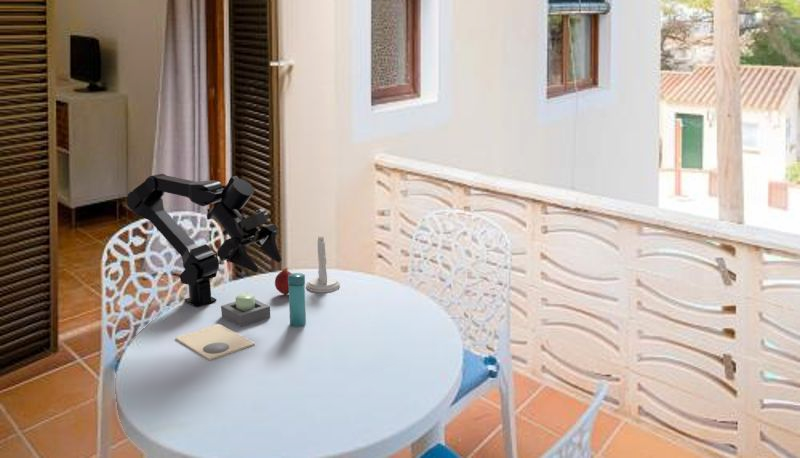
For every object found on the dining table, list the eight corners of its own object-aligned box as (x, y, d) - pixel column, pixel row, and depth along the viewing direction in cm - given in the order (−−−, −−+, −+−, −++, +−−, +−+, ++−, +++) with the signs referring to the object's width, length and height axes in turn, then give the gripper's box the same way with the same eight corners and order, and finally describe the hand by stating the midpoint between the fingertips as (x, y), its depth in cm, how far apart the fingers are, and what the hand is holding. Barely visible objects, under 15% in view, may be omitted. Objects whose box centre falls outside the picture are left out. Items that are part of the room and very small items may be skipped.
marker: (286, 323, 180) (284, 275, 177) (299, 319, 183) (297, 271, 180) (296, 328, 177) (294, 279, 174) (309, 323, 180) (308, 275, 177)
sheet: (175, 339, 171) (175, 337, 171) (219, 325, 179) (219, 323, 179) (209, 360, 160) (209, 358, 160) (254, 344, 168) (254, 343, 168)
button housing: (221, 316, 184) (221, 305, 184) (251, 307, 190) (250, 297, 190) (240, 326, 178) (240, 315, 177) (270, 317, 184) (270, 306, 184)
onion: (291, 299, 197) (290, 272, 195) (272, 297, 198) (271, 270, 196) (298, 292, 202) (297, 265, 200) (279, 290, 203) (278, 264, 201)
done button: (232, 309, 184) (231, 297, 183) (248, 304, 187) (247, 292, 186) (242, 314, 181) (242, 301, 180) (258, 309, 184) (258, 297, 183)
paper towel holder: (309, 293, 201) (308, 243, 197) (303, 282, 210) (302, 234, 206) (343, 290, 204) (342, 240, 200) (336, 279, 213) (335, 231, 209)
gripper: (221, 208, 170) (261, 257, 168) (270, 193, 186) (307, 237, 183) (200, 237, 176) (238, 284, 173) (249, 220, 191) (285, 263, 189)
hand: (269, 266), depth 179 cm, fingers open, 9 cm apart
